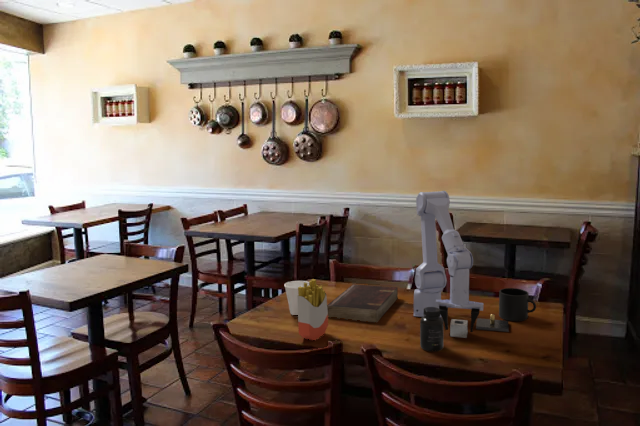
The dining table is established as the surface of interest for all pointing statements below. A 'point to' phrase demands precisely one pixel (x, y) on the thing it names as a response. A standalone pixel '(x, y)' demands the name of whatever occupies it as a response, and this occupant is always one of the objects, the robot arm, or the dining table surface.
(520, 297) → the mug
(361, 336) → the dining table surface
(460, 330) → the gray square hollow block
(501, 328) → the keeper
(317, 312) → the french fries container
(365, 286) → the hardback book
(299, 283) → the cup
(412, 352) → the dining table surface
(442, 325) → the supplement bottle
